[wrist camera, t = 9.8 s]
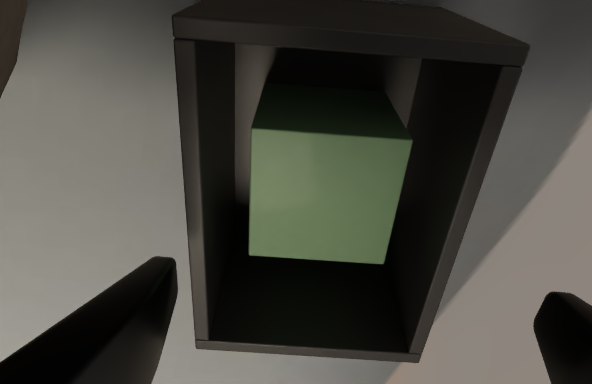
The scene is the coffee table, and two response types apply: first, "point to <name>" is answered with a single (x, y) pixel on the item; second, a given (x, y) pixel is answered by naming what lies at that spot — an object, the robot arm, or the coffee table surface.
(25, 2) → the bowl
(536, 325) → the robot arm
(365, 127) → the block
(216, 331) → the black open box
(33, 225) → the coffee table surface
